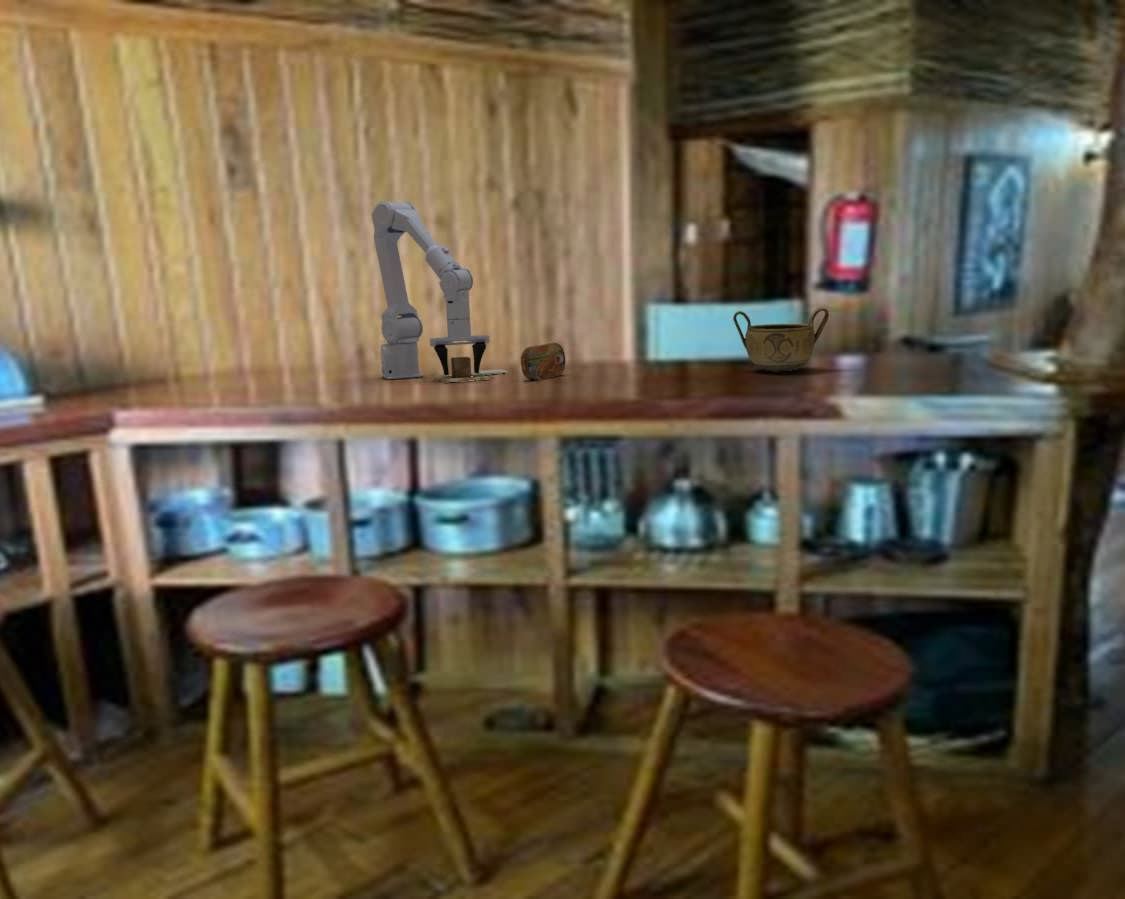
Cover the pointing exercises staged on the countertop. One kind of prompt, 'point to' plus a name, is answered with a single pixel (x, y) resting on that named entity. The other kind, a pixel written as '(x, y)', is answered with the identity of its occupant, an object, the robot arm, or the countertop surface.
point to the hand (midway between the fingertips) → (461, 374)
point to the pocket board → (448, 378)
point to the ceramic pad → (492, 372)
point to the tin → (543, 361)
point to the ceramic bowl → (780, 343)
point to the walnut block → (461, 367)
